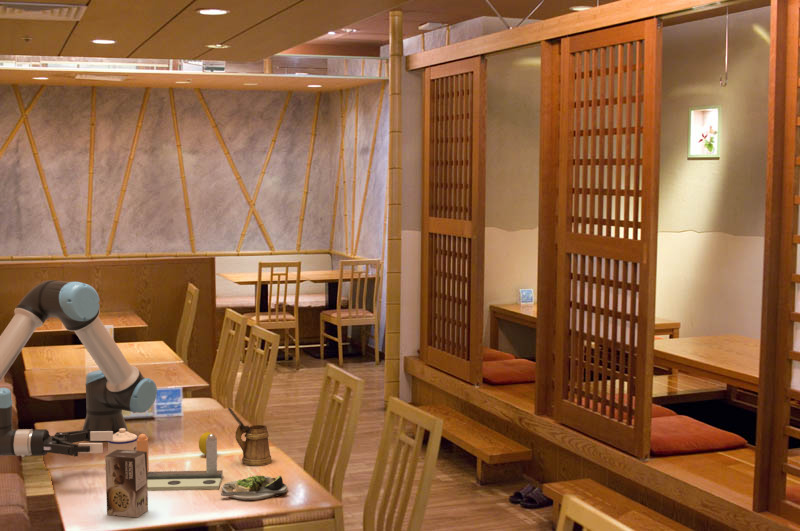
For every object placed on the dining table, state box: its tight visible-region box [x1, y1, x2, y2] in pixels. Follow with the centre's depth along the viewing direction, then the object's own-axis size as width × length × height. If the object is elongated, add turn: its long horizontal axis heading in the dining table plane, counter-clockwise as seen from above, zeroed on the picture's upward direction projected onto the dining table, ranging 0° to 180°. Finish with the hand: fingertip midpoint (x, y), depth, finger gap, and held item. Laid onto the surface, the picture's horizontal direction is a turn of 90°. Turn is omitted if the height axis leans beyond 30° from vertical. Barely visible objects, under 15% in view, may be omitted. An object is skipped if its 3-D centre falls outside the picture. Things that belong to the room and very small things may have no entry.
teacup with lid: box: [107, 428, 139, 455], centre depth 296 cm, size 12×9×12 cm
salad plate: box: [220, 474, 288, 501], centre depth 271 cm, size 19×18×5 cm
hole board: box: [147, 478, 222, 492], centre depth 276 cm, size 7×25×1 cm, turn 95°
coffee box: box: [104, 450, 149, 518], centre depth 253 cm, size 9×6×16 cm
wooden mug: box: [227, 407, 273, 467], centre depth 299 cm, size 9×14×18 cm, turn 106°
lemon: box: [198, 431, 213, 456], centre depth 307 cm, size 6×6×8 cm
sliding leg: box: [137, 433, 150, 473], centre depth 281 cm, size 3×3×12 cm
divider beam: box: [147, 433, 224, 481], centre depth 282 cm, size 3×27×14 cm, turn 95°
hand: (107, 441), depth 280 cm, fingers open, 13 cm apart
